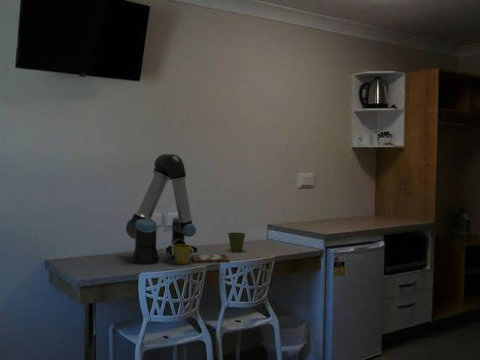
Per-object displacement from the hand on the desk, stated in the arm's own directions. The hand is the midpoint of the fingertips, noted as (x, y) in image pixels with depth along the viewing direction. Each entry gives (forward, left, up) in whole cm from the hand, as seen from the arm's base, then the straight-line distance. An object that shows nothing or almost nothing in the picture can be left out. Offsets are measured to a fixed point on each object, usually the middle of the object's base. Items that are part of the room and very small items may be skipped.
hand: (182, 252), depth 281 cm
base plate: (+17, +12, -7) cm, 22 cm away
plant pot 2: (+38, +39, -7) cm, 55 cm away
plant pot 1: (0, +4, -7) cm, 8 cm away
